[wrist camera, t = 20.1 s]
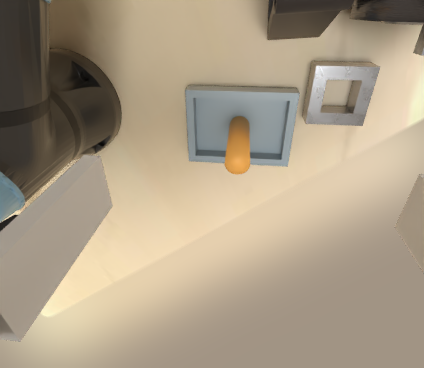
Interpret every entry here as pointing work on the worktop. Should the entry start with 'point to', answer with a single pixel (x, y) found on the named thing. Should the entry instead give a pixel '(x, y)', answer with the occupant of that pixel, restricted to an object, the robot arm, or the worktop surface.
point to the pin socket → (358, 98)
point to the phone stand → (302, 17)
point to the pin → (238, 146)
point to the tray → (246, 107)
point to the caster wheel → (392, 14)
